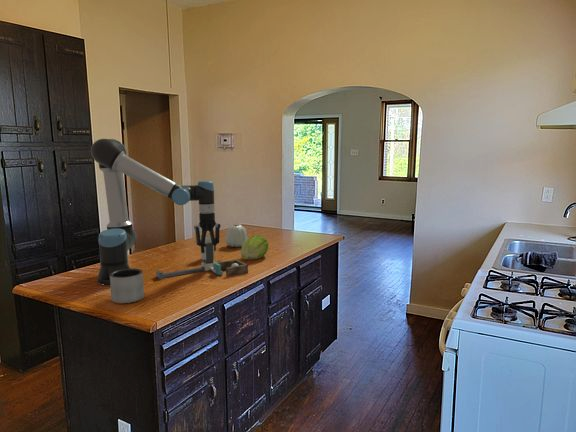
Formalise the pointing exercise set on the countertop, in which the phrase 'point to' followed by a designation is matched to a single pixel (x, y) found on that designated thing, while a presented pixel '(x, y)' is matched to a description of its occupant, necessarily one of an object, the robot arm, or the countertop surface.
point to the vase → (236, 236)
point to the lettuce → (254, 247)
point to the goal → (236, 269)
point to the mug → (207, 239)
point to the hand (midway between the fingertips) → (208, 258)
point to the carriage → (211, 260)
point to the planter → (126, 285)
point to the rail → (179, 272)
